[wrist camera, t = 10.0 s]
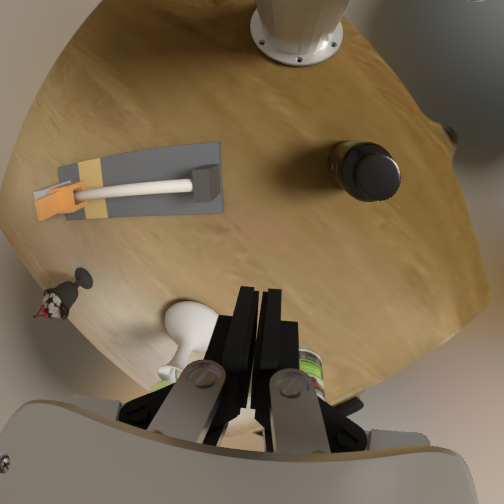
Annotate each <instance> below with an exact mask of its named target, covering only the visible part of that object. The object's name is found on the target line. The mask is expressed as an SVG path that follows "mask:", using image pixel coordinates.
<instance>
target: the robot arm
mask: <svg viewBox="0 0 504 504" xmlns="http://www.w3.org/2000/svg"><path fill="white" fill-rule="evenodd" d="M350 1H351V0H256V5H257V8H256V10H255V11H254V13H253V15H252V18H251V21H250V30H251V35H252V38H253V40H254V42H255V44H256V46H257V47H258V48H259V49H260V50H261V51H262V52H263V53H264V54H265V55H267V56H268V57H269V58H271V59H273V60H275V61H277V62H280V63H282V64H286V65H291V66H301V67H302V66H311V65H315V64H319V63H321V62H324V61H326V60H327V59H329V58H330V57H332V56H333V55H334V53H335V52H336V51H337V50H338V48H339V47H340V45H341V42H342V39H343V27H342V24H341V21H340V20H341V18H342V16H343V14H344V12H345V10H346V8H347V6H348V4H349V2H350ZM468 1H484V0H468ZM261 43H264V45H261ZM331 45H333V46H334V47H332V46H331ZM297 60H300V61H301V62H297ZM281 292H282V290H281V289H268V292H263V295H262V303H261V310H260V317H259V324H258V331H257V317H258V300H259V291H254V287H245V286H241V287H240V291H239V295H238V298H237V302H236V306H235V310H234V313H233V316H225V315H219V316H218V318H217V321H216V324H215V327H214V330H213V333H212V336H211V339H210V342H209V345H208V348H207V351H206V354H205V357H204V360H197V361H194V362H192V363H190V364H188V365H187V366H186V367H185V368H184V370H183V371H182V373H181V375H180V376H179V378H178V379H177V381H176V382H175V383H173V384H170V385H168V386H166V387H163V388H161V389H159V390H156V391H154V392H151V393H149V394H146V395H144V396H141V397H139V398H136V399H134V400H131V401H129V402H127V403H126V404H123V403H121V402H120V401H118V400H108V399H102V398H94V397H88V396H83V395H71V396H69V397H67V398H66V399H65V400H64V401H63V402H61V401H55V400H43V399H42V400H32V401H29V402H26V403H25V404H23V405H22V406H21V407H20V408H19V409H18V410H17V411H16V412H15V413H14V414H13V415H12V417H11V418H10V419H9V421H8V422H7V423H6V425H5V426H4V428H3V429H2V431H1V433H0V504H478V499H477V494H476V489H475V485H474V482H473V478H472V475H471V473H470V470H469V467H468V465H467V464H466V462H465V460H464V459H463V457H462V456H461V455H460V454H459V453H457V452H455V451H453V450H450V449H446V448H442V447H437V446H430V441H429V440H428V438H427V437H426V436H425V435H423V434H422V433H417V432H398V431H386V430H375V429H372V430H371V431H364V430H363V429H362V428H361V427H360V426H358V425H357V424H355V423H354V422H352V421H351V420H350V419H348V418H347V417H346V416H344V415H343V414H341V413H340V412H339V411H337V410H336V409H335V408H333V407H332V406H331V405H329V404H328V403H327V402H325V401H324V400H323V399H321V398H320V397H319V396H317V394H316V390H315V386H314V382H313V380H312V378H311V377H310V376H309V375H308V374H307V373H305V372H303V371H302V370H299V338H298V322H292V321H281ZM256 333H257V338H256ZM253 359H254V361H253ZM252 366H253V375H252V391H251V407H250V409H256V410H255V419H256V420H257V421H258V422H259V423H260V424H261V425H262V426H263V439H264V452H258V451H247V450H239V449H231V448H224V447H219V446H220V444H221V441H222V439H223V436H224V434H225V432H226V429H227V427H228V422H229V421H230V420H232V419H234V418H236V417H237V415H240V409H241V408H246V405H247V399H248V392H249V386H250V379H251V372H252Z"/></svg>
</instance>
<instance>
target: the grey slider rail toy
mask: <svg viewBox="0 0 504 504" xmlns="http://www.w3.org/2000/svg"><path fill="white" fill-rule="evenodd" d="M58 170H59V178H60V183H57V184H54V185H52V186H49V187H46V188H43V189H41V190H38V191H36V192H34V198H35V200H37V199H39V198H42V197H44V196H47V195H49V190H50V189H52V188H55V187H58V186H60V185H63V184H67V183H73V182H78V181H84V180H85V185H86V190H79V191H73V194H74V200H75V202H76V201H84V200H88V204H89V205H87V206H85V207H83V208H81V209H79V210H77V211H75V212H72V213H65V214H66V219H67V220H78V219H96V218H109V217H128V216H150V215H181V214H222V213H223V212H224V202H223V184H222V165H221V144H220V142H213V143H200V144H189V145H179V146H170V147H162V148H154V149H147V150H140V151H134V152H128V153H122V154H116V155H111V156H106V157H101V158H96V159H91V160H87V161H82V162H78V163H74V164H70V165H66V166H62V167H58Z"/></svg>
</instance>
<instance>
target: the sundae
mask: <svg viewBox="0 0 504 504" xmlns="http://www.w3.org/2000/svg"><path fill="white" fill-rule="evenodd" d="M75 277H76V280H77V281H76V282H75V283H72V282H69V281H67V282H64V283H62V284H60V285H58V286H57V287H55V288H48V289H46V290H45V291H44V298H43V305H42V306H41V307H40V311H42V312H44V314H43V315H39V316H44V317H45V318H48V317H49V318H52V319H55V318H61V319H62V320H65V319H67V317H68V315H69V309H70V308H71V306H72V305H73V303H74V302H75V301H76V299H77V297H78V289H77V288H78V287H79V286H82V287H83V288H85V289H90V288H91V287H92V285H93V281H92V277H91V275H90V274H89V273H88V271H86V270H85V269H83V268H78V269H77V270H76V272H75ZM40 311H39V312H40ZM39 312H38V313H39ZM38 313H37V314H38ZM33 317H34V318H36V317H37V316H36V317H35V316H33Z"/></svg>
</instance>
